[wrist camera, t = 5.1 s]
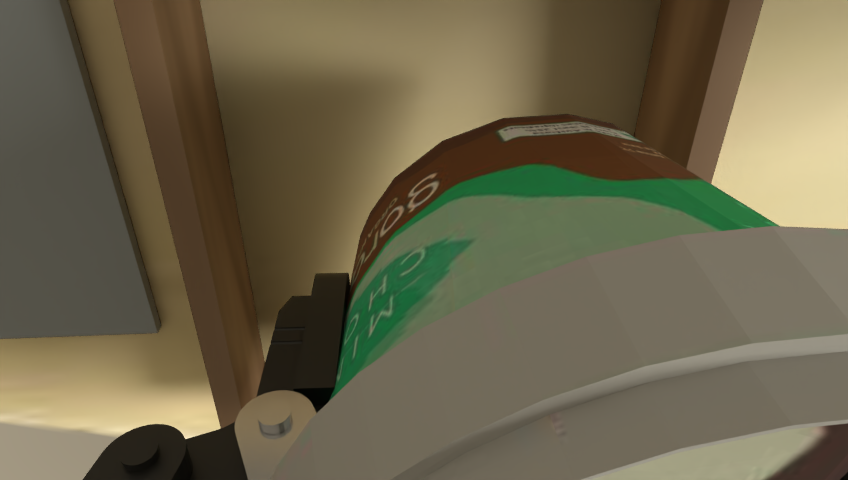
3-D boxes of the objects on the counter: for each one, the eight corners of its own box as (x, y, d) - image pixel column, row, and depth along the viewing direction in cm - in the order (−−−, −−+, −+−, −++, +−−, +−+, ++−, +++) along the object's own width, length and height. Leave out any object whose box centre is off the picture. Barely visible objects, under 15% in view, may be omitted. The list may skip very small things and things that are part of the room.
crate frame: (712, -107, 15) (794, -108, 12) (606, 363, 24) (639, 431, 21) (146, -111, 14) (85, -113, 11) (246, 378, 23) (226, 451, 20)
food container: (381, -28, 12) (386, 173, 3) (643, 63, 13) (1144, 378, 4) (269, 394, 18) (163, 870, 9) (458, 428, 19) (523, 871, 10)
